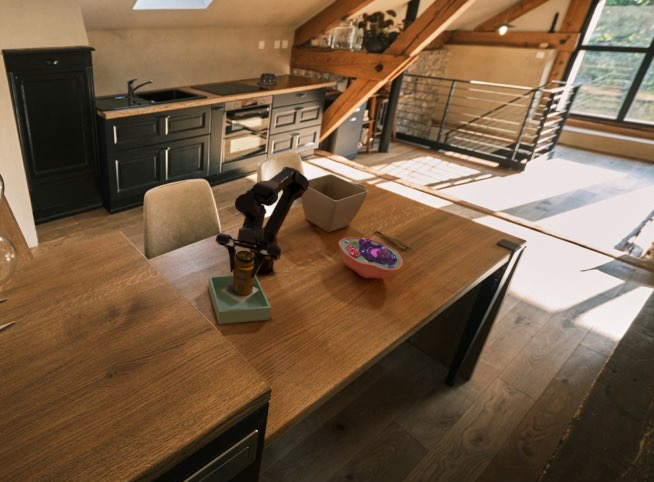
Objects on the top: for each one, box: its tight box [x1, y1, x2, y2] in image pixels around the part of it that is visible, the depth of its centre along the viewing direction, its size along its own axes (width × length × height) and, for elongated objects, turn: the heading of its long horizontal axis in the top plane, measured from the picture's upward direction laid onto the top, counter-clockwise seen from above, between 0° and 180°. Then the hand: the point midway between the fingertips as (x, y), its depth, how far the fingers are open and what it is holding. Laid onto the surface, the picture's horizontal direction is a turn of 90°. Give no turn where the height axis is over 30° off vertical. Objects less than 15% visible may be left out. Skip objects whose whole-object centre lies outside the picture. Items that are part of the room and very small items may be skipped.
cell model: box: [338, 236, 404, 280], centre depth 130 cm, size 17×20×11 cm
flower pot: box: [300, 173, 369, 233], centre depth 158 cm, size 19×19×17 cm
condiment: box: [222, 250, 259, 303], centre depth 111 cm, size 7×8×12 cm
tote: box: [207, 274, 272, 325], centre depth 117 cm, size 15×15×5 cm
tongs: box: [374, 230, 410, 251], centre depth 148 cm, size 4×13×2 cm, turn 35°
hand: (241, 275), depth 109 cm, fingers closed on condiment, 6 cm apart
